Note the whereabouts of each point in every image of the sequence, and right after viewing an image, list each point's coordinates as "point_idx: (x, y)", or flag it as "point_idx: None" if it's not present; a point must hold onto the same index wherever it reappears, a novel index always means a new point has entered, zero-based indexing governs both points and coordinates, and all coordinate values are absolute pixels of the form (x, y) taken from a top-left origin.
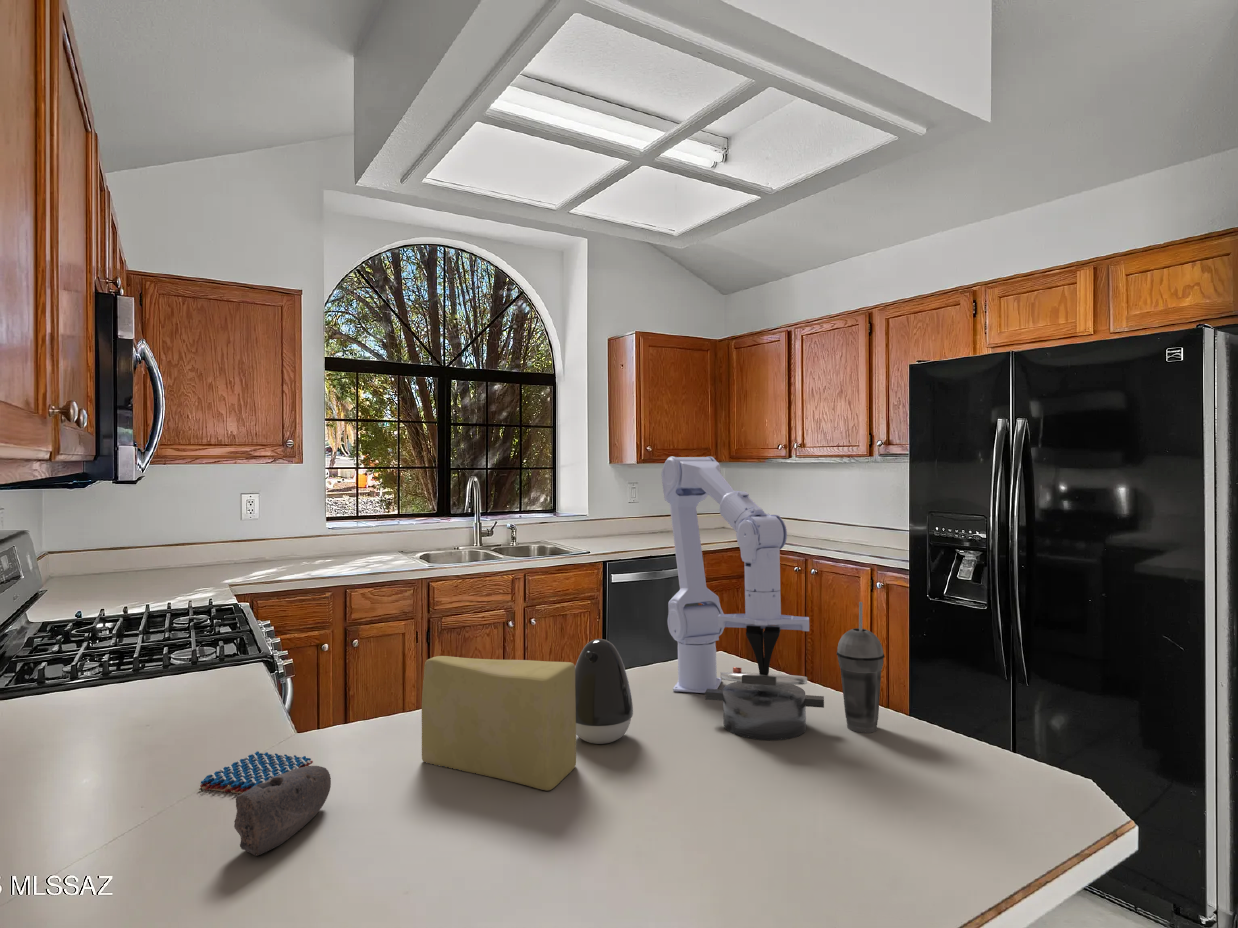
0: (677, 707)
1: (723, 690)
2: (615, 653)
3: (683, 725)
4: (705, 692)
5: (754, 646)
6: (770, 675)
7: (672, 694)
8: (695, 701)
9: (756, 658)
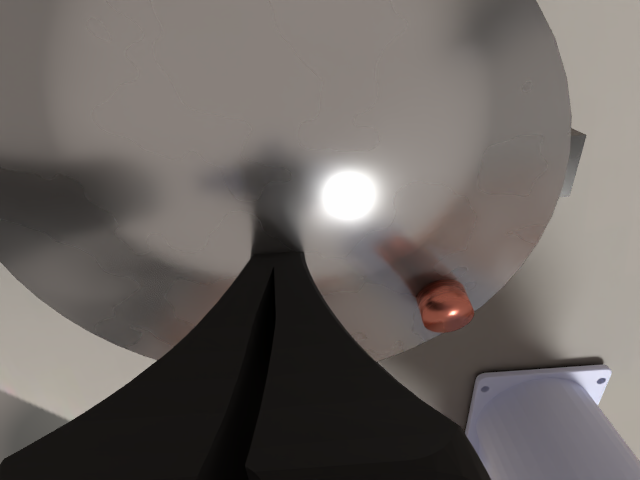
0: (606, 238)
1: None
2: None
3: (604, 45)
4: (583, 135)
5: (345, 360)
6: (213, 196)
7: (609, 343)
8: (539, 306)
9: (323, 301)
